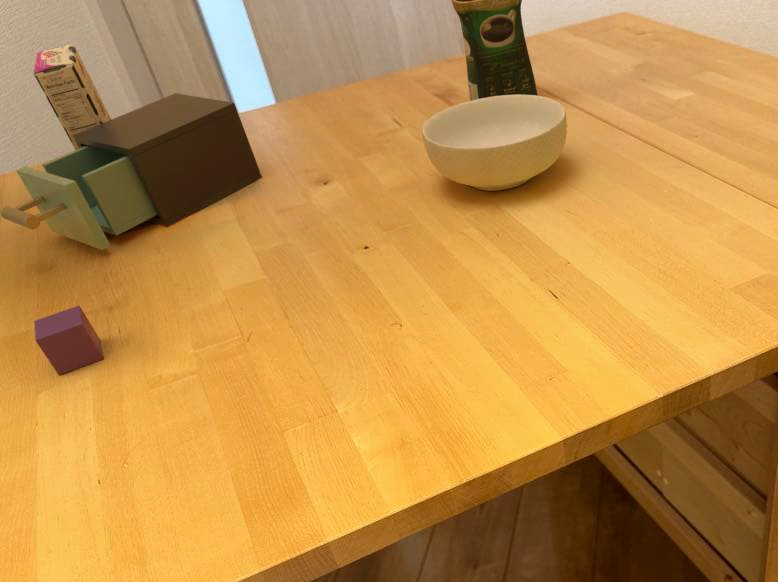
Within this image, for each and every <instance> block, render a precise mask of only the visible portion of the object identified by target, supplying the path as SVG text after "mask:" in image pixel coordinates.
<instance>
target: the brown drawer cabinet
mask: <svg viewBox="0 0 778 582" xmlns="http://www.w3.org/2000/svg"><path fill="white" fill-rule="evenodd" d="M237 109H238V108H237V106H236V103H235V102H232V101H226V100H219V99H213V98H208V97H202V96H196V95H195V96H194V95H188V94H183V93H173V94H169V95H168V96H165V97H163V98H159V99H158V100H155V101H153V102H151V103H148V104H147V105H146V104H145V105H143V106H141V107H139V108H136V109H134V110H131V111H129V112H127V113H124V114H122V115H119V116H117V117H114V118H111V120H109V121H107V122H104V123H102V124H100V125H97V126H95V127H92V128H90V129H87V130H85V131H83V132H80V133H78V134H75V135H73V137H74V139H75V141H76V143H77V145H78V147H79V148H82V147H84V146H86V145H88V146H92V147H96V148H100V149H104V150H108V151H112V152H116V153H121V154H125V155H129V157H130V159H131V161H132V163H133V165H134V167H135V169H136V171H137V173H138V176H139V178H140V180H141V182H142V184H143V186H144V188H145V190H146V192H147V194H148V196H149V198H150V200H151V202H152V204H153V206H154V208H155V210H156V213H157V215H156V216H154V217H152V218H150V219H148V220H146V221H145V222H150V223H152V224H154V225H155V224H156V225H159V226H161V227H165V228H168V227H171V226H173V225H174V224H176V223H178V222H180V221H181V220H183V219H186V218H187V217H189V216H191V215H193V214H195V213H197V212H199V211H201V210H202V209H205V208H206V207H208V206H210V205H212V204H214V203H216V202H218V201H219V200H221V199H223V198H225V197H227V196H229V195H231V194H234V193H236V192H237V191H239V190H241V189H243V188H245V187H246V186H248V185H250V184H252V183H254V182H256V181H258V180H260V179H262V178H263V177H262V173H261V170H260V168H259V164H258V162H257V159H256V157H255V154H254V152H253V149H252V146H251V144H250V141H249V138H248V136H247V133H246V130H245V127H244V126H243V125H244V124H243V123H242V122H243V121H242V119H241V117H240V115H239V112H238V110H237Z"/></svg>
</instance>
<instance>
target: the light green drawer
mask: <svg viewBox="0 0 778 582" xmlns="http://www.w3.org/2000/svg"><path fill="white" fill-rule="evenodd" d="M41 165H42V167H43V170H44V171H42V170H39V169H36V168H33V167H29V166H23V167H21V168H18V169H16V170H15V171H16V173H17V175H18V176H19V178H20V180H21V181H22V183H23V185H24V186H25V188H26V190H27V192H28V193H29V195H30V197H31V198H32V199H31V200H29V201H26V202H24V203H22V204H20V205H17V206H15V207H11V206H3V207H2V208H1V210H0V216H1V218H3V219H4V220H7V221H9V222H10V223H11V222H12V223H13V224H17V225H19V226H22V227H25V228H27V229H30V230H35V229H38V228H39V227H40V226H41V222H42V221H45V222H46V223H47V226H48V227H49V229H50V231H51V232H52V233H55V234H57V235H60V236H63V237H66V238H67V239H71V240H74V241H76V242H79V243H81V244H84V245H86V246H89V247H92V248H95V249H98V250H100V251H102V250H105V249H107V248H108V247H110V246H111V244H110V241H109V240H108V238H107V236H106V234H105V233H107V234H111V235H113V236H119V235H121V234H123V233H126V231H128V230H131V229H132V228H134V227H136V226H138V225H140V224H142V223H144V222H147V221H146V220H148V219H150V218H152V217H154V216H156V215H157V213H156V210H155V208H154V206H153V204H152V202H151V200H150V198H149V196H148V194H147V192H146V190H145V188H144V186H143V184H142V182H141V180H140V178H139V176H138V173H137V171H136V169H135V167H134V165H133V163H132V161H131V159H130V157H129V155H125V154H121V153H116V152H112V151H108V150H104V149H100V148H96V147H92V146H88V145H86V146H84V147H82V148H79V149H77V150H75V149H74V150H72V151H70V152H68V153H65V154H63V155H61V156H58V157H56V158H54V159H51V160H48V161H46V162H44V163H42V164H41ZM34 207H37V208H38V210H39V212H40V213H38V214H31V213H29V212H25V211H28V210H30V209H32V208H34Z"/></svg>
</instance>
